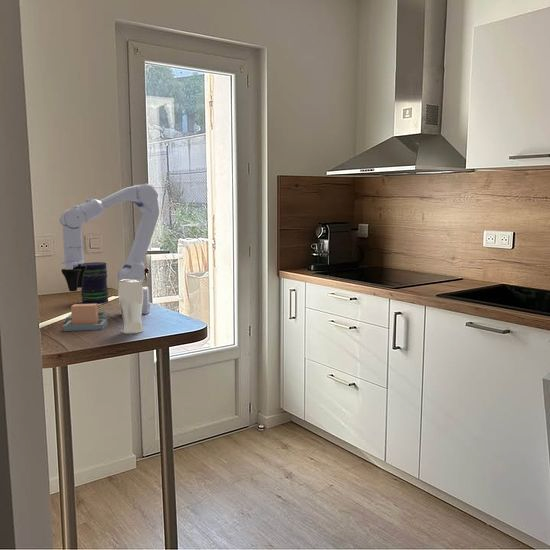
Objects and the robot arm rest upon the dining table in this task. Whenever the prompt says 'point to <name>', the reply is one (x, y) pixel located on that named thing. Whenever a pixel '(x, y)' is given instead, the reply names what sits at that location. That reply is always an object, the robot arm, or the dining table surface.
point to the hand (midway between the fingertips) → (75, 289)
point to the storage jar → (95, 284)
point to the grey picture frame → (85, 326)
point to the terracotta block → (84, 314)
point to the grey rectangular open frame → (100, 316)
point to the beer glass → (131, 305)
